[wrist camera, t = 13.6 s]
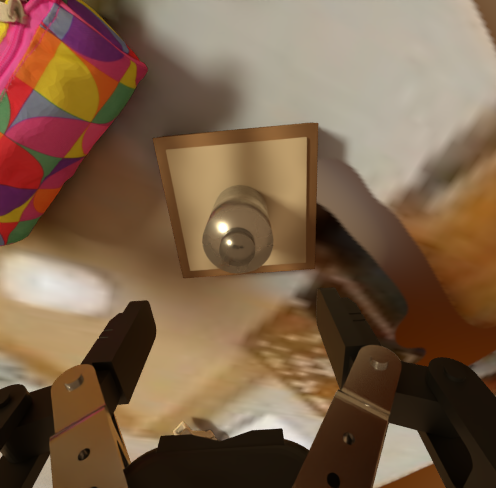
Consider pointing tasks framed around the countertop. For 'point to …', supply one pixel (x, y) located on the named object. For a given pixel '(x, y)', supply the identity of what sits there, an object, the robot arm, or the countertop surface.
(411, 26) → the countertop surface
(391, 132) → the countertop surface
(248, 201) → the weight
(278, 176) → the tray
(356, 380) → the robot arm
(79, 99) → the pencil case
